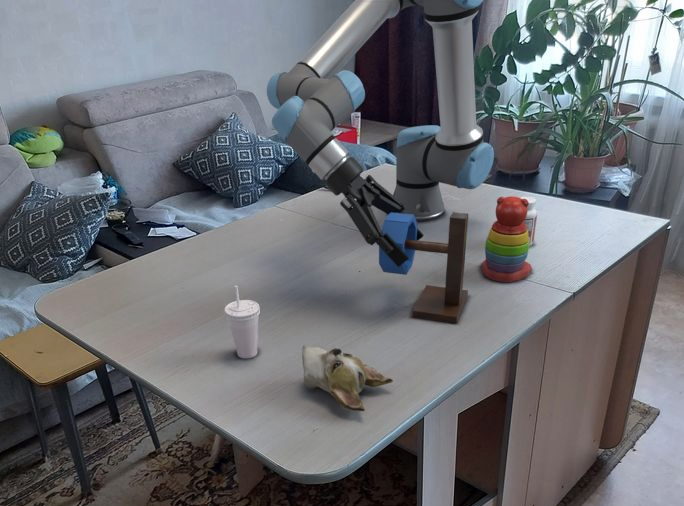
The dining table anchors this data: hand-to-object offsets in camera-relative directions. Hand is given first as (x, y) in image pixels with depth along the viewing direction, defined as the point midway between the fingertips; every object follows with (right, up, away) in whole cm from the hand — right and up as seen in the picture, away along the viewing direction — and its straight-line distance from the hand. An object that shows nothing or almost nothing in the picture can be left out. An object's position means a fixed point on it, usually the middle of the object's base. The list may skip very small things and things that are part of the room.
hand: (411, 250), depth 130 cm
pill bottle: (+31, +6, +31) cm, 44 cm away
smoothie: (-32, -21, -9) cm, 39 cm away
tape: (-2, -3, +3) cm, 5 cm away
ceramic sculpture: (-14, -27, -20) cm, 37 cm away
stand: (+3, -10, +5) cm, 12 cm away
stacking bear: (+23, -3, +17) cm, 29 cm away
